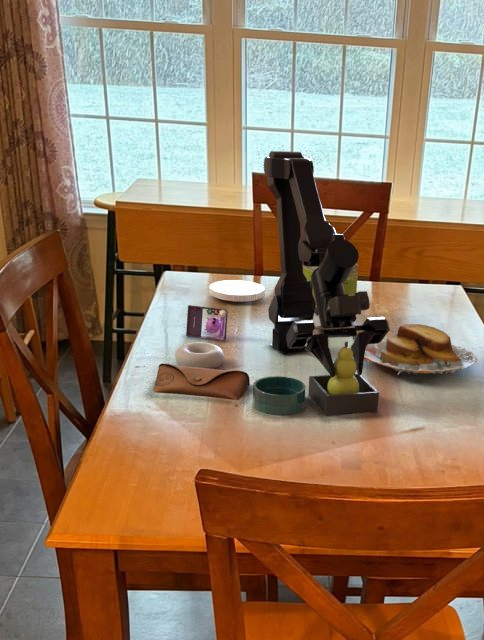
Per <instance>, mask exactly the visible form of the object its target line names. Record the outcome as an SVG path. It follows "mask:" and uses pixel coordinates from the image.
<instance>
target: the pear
mask: <svg viewBox="0 0 484 640" xmlns="http://www.w3.org/2000/svg"><path fill="white" fill-rule="evenodd" d="M333 364H334V368H335V376H334V377H331V378H330V380H329V382H328V386H327V390H328V394H329V395H338V394H351V393H359V383H358V381H357V379H356V378H355V376H354V374H355V373H357V370H356V369H357V366H356V362H355V360H354V358H353V351H352V350H351V347H349V341H345V342H344V346H343V347H341V348H340V349H339V350H338V353H337V358H335V360H333Z"/></svg>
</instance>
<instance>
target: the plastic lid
mask: <svg viewBox="0 0 484 640" xmlns="http://www.w3.org/2000/svg"><path fill="white" fill-rule="evenodd" d="M265 294H266V287H264V285H262V284H260V283H258V282H254V281H249V280H242V279H241V280H240V279H226V280H219V281H214V282H212V283H211V284H209V295H210V296H211V297H213V298H215V299H219V300H223V301H230V302H252V301H257V300H260V299H263V298H264V297H265Z"/></svg>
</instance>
